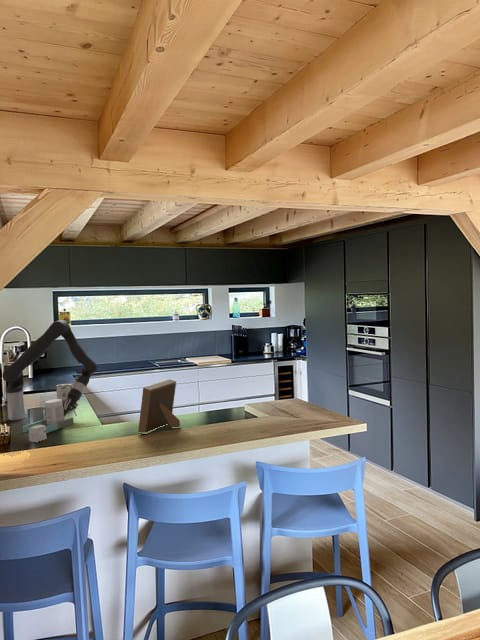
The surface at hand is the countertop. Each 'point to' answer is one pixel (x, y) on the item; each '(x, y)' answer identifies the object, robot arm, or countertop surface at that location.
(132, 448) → the countertop surface
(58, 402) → the supplement tub
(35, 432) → the skincare box
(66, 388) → the candy bar box
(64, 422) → the chute
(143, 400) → the photo frame
